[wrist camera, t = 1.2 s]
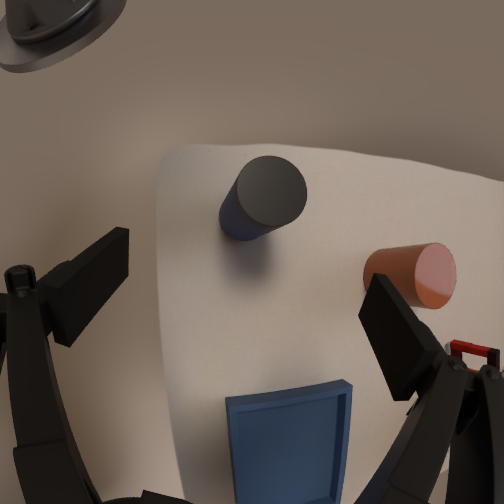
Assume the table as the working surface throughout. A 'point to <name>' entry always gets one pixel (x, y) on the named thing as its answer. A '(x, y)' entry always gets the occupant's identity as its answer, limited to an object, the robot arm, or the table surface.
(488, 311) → the table surface
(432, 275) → the terracotta canister
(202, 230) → the table surface
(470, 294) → the table surface
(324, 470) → the blue tray
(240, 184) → the blue canister
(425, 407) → the robot arm
